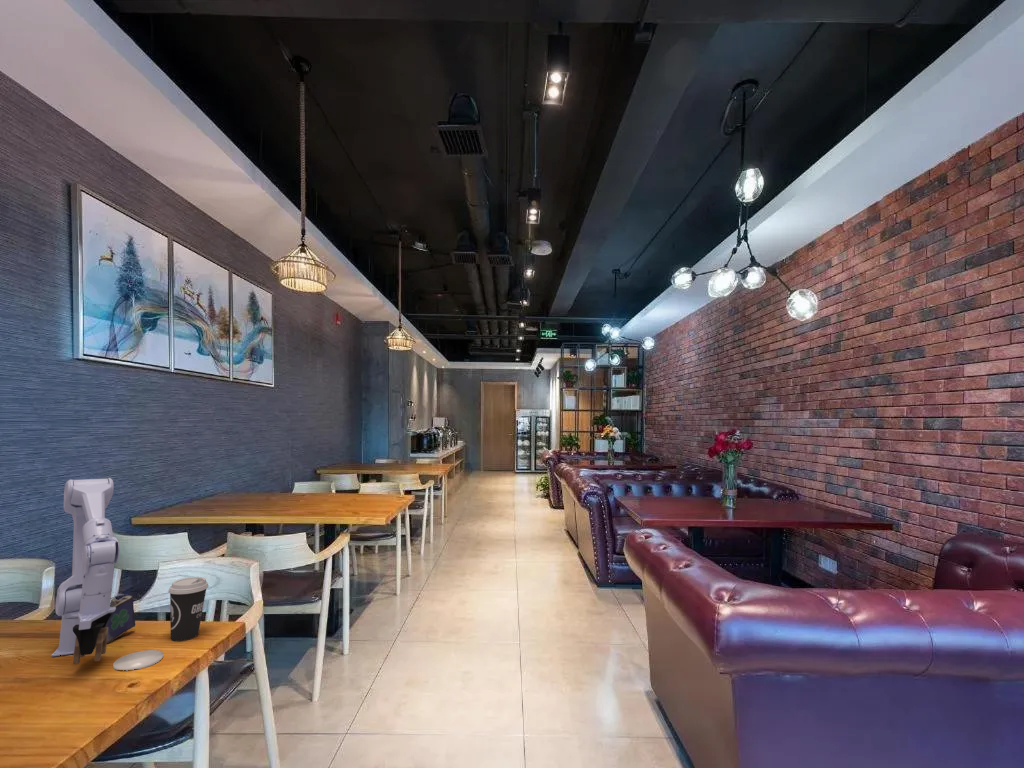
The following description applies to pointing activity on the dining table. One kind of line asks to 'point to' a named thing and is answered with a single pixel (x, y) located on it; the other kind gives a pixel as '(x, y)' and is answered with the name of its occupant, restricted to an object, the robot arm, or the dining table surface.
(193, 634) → the coffee cup
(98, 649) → the stool
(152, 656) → the plate
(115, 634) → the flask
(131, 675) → the dining table surface
